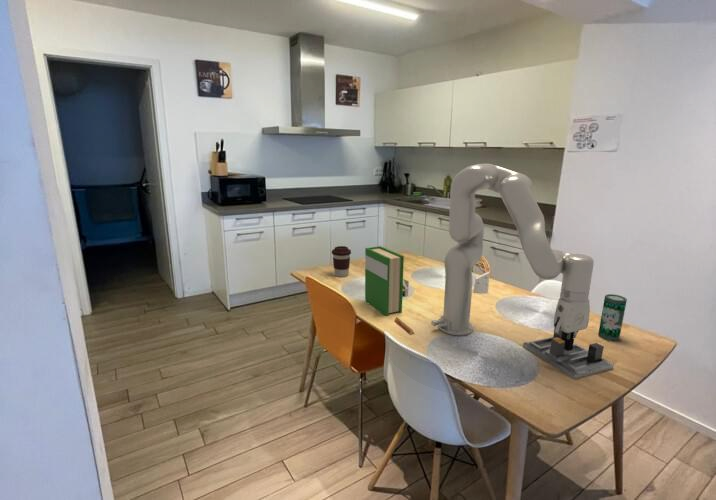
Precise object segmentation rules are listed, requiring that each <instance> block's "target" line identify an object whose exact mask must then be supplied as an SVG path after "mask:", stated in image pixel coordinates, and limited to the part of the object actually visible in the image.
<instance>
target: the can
mask: <svg viewBox="0 0 716 500" xmlns="http://www.w3.org/2000/svg"><path fill="white" fill-rule="evenodd" d="M627 301H628V299H627V298H626V297H625V296H622V295H618V294H614V293H613V294H612V293H611V294H605V296H604V300H603V306H602V310H601V316H600V323H599V329H598V333H597V335H598V337H599V338H601V339H602V340H606V341H609V342H618V341H619V340H620V337H621V332H622V327H623V321H624V316H625V310H626V307H627Z"/></svg>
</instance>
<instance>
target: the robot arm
mask: <svg viewBox="0 0 716 500" xmlns="http://www.w3.org/2000/svg"><path fill="white" fill-rule="evenodd" d="M486 189H487V190H489V191H492V192H495V193H498V194H499V195H500V198H501V200H502V202H503V204H504V206H505V208H506V209H507V211H508V214H509V215H510V218H511V220H512V221H513V224H514V226H515V227H516V231H517V234H518V238H519V241H520V244H521V248H522V250H523V253H524V255H525V258H526V259H527V261H528V263H529V265H530V267H531V269H532V271H533V272H534V274H535V275H536V276H537V277H539V278H540V279H542V280H545V281H546V280H548V281H549V280H553V279H556V278H557V277H558V276H559V275H560V274H562V279H561V287H560V294H559V298H558V301H557V303H556V304H557V305H556V309H555V311H554V317H553V318H554V319H553V327H554V328H556V329H555V333H556V334H558V335H561V336H562V338H561V339H562V340H564V341H565V346H564V349H565V350H567V351H570V350H573V343H575V339H576V338H577V334H578V333H579V332H580V331H583V330H586V329H587V328H588V327H589V322H590V309H591V306H590V299H589V295H590V289H591V284H592V283H591V282H592V277H593V272H594V271H593V270H594V264H595V263H594V262H595V260H594V258H592V257H591V256H589V255H587V254H581V253H569V252H565V251H562V250H558V249H552V247H551V245H550V242H549V241H548V238H547V234H546V227H545V226H546V222H545V215H544V214H543V212H542V210H541V208H540V206H539V205H538V202H537V201H536V198H535V196H534V194H533V193H532V190H533V182H532V180H531V178H530V177H529V176H527V175H526V174H523V173H521V172H518V171H517V172H516V171H514V170H511V169H507V168H505V167H502V166H498V165H495V164H492V163H477V164H472V165H469V166H467V167H465V168H463V169H462V170H460V171H459V172H458V173H457V174H456V175H455V176H454V178H453V180H452V182H451V186H450V190H449V191H450V196H449V197H450V198H449V220H448V232H449V234H448V235H449V236H450V238H451V239H452V240H453V241H454V242H457V244H456V245H455V246H452V248H450V249H449V250H448V252H446V254H445V257H444V271H445V272H444V274H445V275H444V276H445V277H444V279H445V280H444V281H445V282H444V299H443V310H442V311H443V312H442V313H443V315H440V317H439V318H438V319H435V320H431V321H430V322H431V325H432V327H436V326H437V327H438V329H439V330H440V331H442V332H443V333H445V334H448V335H452V336H467V335H470V334H472V333H473V331H474V325H473V324H472V322H470V319H471V306H472V295H473V272H472V271H473V267H475V266H476V265H477V264H479V262H480V261H481V259H482V256H483V251H484V233H485V232H484V231H485V227H484V226H485V225H484V221H483V218H482V217H481V216H480V214H478V213H476V205H477V202H476V201H477V200H476V193H477V192H479V191H482V190H486Z"/></svg>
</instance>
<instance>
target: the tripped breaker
mask: <svg viewBox="0 0 716 500" xmlns="http://www.w3.org/2000/svg"><path fill="white" fill-rule="evenodd" d="M564 346H565V341H564V340H562V339H560V338H558V337H557V338H553V339H552V341H551V348H550V353H552V354H553V355H555V356H557V357H558V356H563V353H564Z"/></svg>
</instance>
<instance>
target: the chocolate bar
mask: <svg viewBox="0 0 716 500" xmlns="http://www.w3.org/2000/svg"><path fill="white" fill-rule="evenodd" d="M393 322H394V323H395V324H396V325H398V326H399V327H400V328H401V329H402V330H403V331H405V332H406V333H407V334H408V335H409V336H412V335H415V331H414V330H413V329H412V328H411V327H410V326H408V324H406V323H405V322H404V321H402V320H401V319H400V318H399V317H397V316H396V317H395V318H394V321H393Z"/></svg>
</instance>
